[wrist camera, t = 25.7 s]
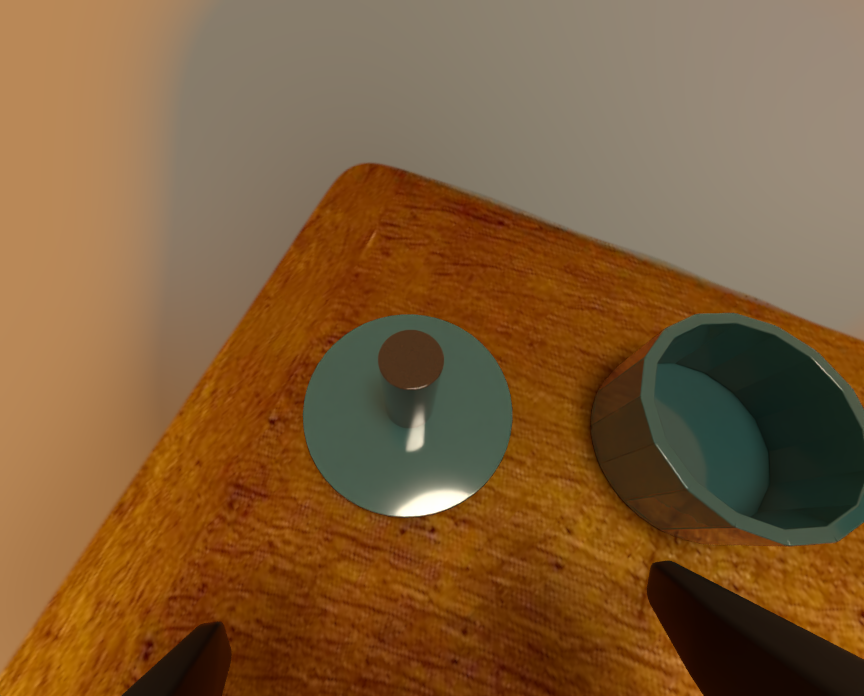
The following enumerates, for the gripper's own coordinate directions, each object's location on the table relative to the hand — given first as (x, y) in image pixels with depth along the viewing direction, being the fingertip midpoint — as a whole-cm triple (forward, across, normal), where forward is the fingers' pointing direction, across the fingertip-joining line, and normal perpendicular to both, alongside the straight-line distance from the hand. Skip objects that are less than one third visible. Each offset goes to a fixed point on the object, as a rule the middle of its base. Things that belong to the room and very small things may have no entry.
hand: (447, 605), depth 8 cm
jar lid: (+13, 0, -2) cm, 13 cm away
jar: (+12, +15, -5) cm, 19 cm away
